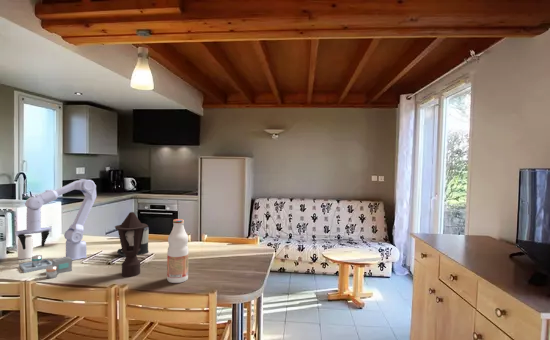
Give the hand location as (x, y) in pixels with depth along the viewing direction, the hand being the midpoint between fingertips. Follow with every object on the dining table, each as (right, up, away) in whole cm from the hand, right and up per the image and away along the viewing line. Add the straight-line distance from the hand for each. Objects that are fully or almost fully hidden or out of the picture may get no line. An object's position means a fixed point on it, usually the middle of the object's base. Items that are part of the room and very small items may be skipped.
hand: (33, 247), depth 159 cm
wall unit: (+18, -10, -6) cm, 22 cm away
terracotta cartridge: (+19, -11, -13) cm, 25 cm away
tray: (+2, -10, 0) cm, 10 cm away
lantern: (+53, -11, -7) cm, 54 cm away
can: (-14, -9, +13) cm, 21 cm away
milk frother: (+40, -10, +25) cm, 48 cm away
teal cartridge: (+2, -9, -1) cm, 9 cm away
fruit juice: (+77, -12, -12) cm, 79 cm away
